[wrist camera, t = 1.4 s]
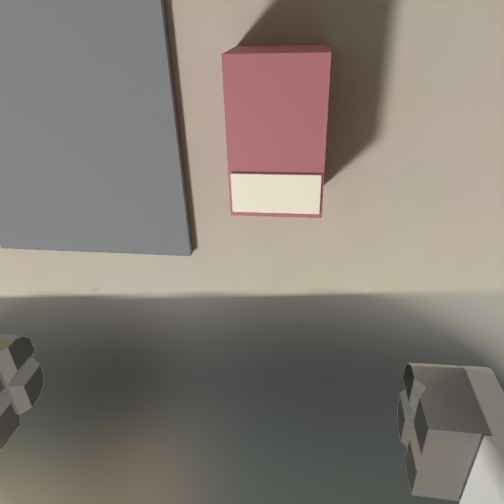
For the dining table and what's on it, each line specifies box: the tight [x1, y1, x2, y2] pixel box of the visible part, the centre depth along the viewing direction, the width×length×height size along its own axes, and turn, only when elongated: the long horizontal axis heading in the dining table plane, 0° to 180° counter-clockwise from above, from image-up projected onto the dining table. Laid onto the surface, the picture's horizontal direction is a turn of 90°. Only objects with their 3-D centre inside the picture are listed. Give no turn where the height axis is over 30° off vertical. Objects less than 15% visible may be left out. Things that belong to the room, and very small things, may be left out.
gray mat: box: [0, 0, 193, 256], centre depth 30 cm, size 18×16×1 cm
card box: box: [222, 44, 331, 218], centre depth 26 cm, size 9×6×5 cm, turn 2°
